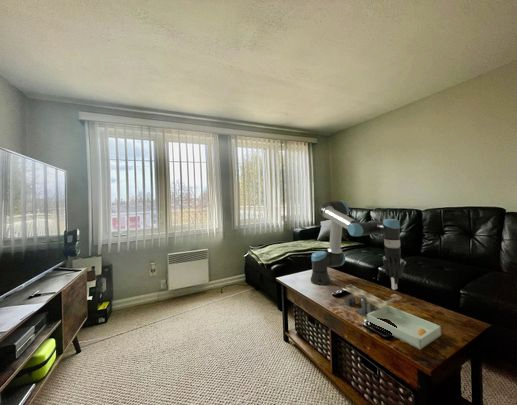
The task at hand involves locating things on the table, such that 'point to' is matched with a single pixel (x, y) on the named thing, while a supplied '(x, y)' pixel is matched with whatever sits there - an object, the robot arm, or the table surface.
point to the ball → (421, 331)
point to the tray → (405, 326)
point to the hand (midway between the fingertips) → (394, 288)
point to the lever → (371, 297)
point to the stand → (365, 308)
